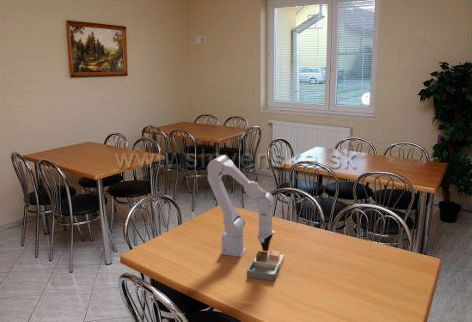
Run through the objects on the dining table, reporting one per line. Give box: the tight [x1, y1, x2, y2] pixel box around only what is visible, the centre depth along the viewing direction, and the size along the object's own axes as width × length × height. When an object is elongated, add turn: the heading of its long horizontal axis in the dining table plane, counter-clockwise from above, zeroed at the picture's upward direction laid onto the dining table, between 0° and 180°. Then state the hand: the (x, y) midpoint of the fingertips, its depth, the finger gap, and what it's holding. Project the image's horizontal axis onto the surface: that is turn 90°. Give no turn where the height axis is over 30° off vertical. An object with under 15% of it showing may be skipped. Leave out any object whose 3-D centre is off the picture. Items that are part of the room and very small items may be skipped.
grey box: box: [246, 259, 280, 282], centre depth 159 cm, size 11×9×3 cm
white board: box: [253, 252, 285, 270], centre depth 167 cm, size 11×9×2 cm
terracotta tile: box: [269, 250, 281, 261], centre depth 166 cm, size 4×4×2 cm
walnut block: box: [255, 250, 269, 262], centre depth 166 cm, size 4×4×2 cm
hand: (265, 250), depth 172 cm, fingers closed
